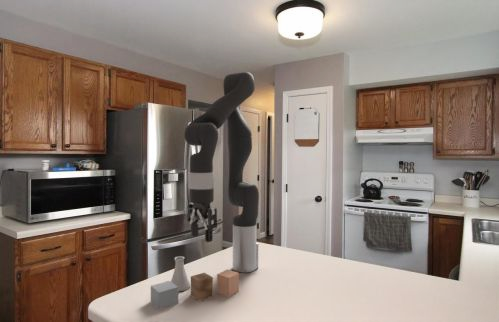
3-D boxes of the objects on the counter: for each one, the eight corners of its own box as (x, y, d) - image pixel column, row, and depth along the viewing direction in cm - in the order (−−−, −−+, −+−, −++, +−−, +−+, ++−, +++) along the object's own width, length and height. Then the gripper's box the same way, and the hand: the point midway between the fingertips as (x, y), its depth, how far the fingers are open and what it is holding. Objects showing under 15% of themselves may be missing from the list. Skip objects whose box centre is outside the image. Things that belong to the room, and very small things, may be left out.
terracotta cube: (227, 287, 103) (227, 269, 103) (238, 291, 100) (239, 272, 100) (217, 292, 99) (217, 274, 99) (229, 296, 96) (229, 277, 96)
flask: (185, 293, 99) (185, 262, 99) (164, 291, 100) (164, 260, 100) (193, 284, 106) (193, 255, 106) (174, 282, 107) (174, 253, 107)
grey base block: (169, 296, 97) (169, 280, 97) (178, 303, 92) (178, 287, 92) (150, 302, 93) (150, 285, 93) (158, 309, 88) (158, 292, 88)
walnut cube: (204, 290, 101) (204, 272, 101) (212, 296, 97) (212, 277, 97) (190, 295, 98) (190, 276, 97) (198, 301, 94) (198, 281, 94)
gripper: (224, 188, 94) (224, 241, 94) (200, 184, 105) (200, 232, 105) (202, 189, 89) (202, 246, 89) (180, 186, 100) (180, 236, 100)
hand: (201, 238), depth 97 cm, fingers open, 8 cm apart
